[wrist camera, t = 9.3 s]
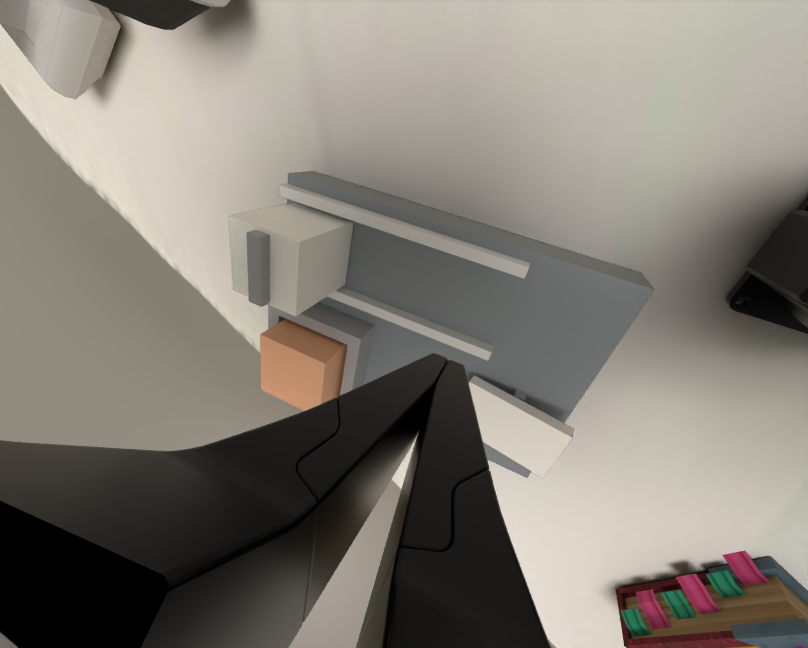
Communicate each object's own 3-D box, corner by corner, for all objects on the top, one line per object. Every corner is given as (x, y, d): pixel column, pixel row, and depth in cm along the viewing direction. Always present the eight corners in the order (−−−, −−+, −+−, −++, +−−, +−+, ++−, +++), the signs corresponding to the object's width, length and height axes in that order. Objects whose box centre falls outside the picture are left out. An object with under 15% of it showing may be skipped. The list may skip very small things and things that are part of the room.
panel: (642, 273, 17) (667, 306, 14) (529, 450, 25) (525, 503, 21) (313, 171, 21) (263, 175, 18) (301, 349, 29) (265, 378, 25)
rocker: (574, 428, 18) (572, 437, 18) (545, 468, 20) (542, 478, 19) (474, 375, 20) (469, 381, 20) (456, 415, 22) (451, 423, 21)
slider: (353, 222, 19) (290, 244, 14) (345, 284, 21) (288, 321, 17) (295, 202, 20) (217, 217, 15) (292, 264, 22) (224, 293, 17)
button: (357, 332, 23) (325, 363, 19) (349, 382, 25) (319, 418, 22) (300, 309, 24) (260, 334, 20) (297, 359, 26) (261, 389, 23)
